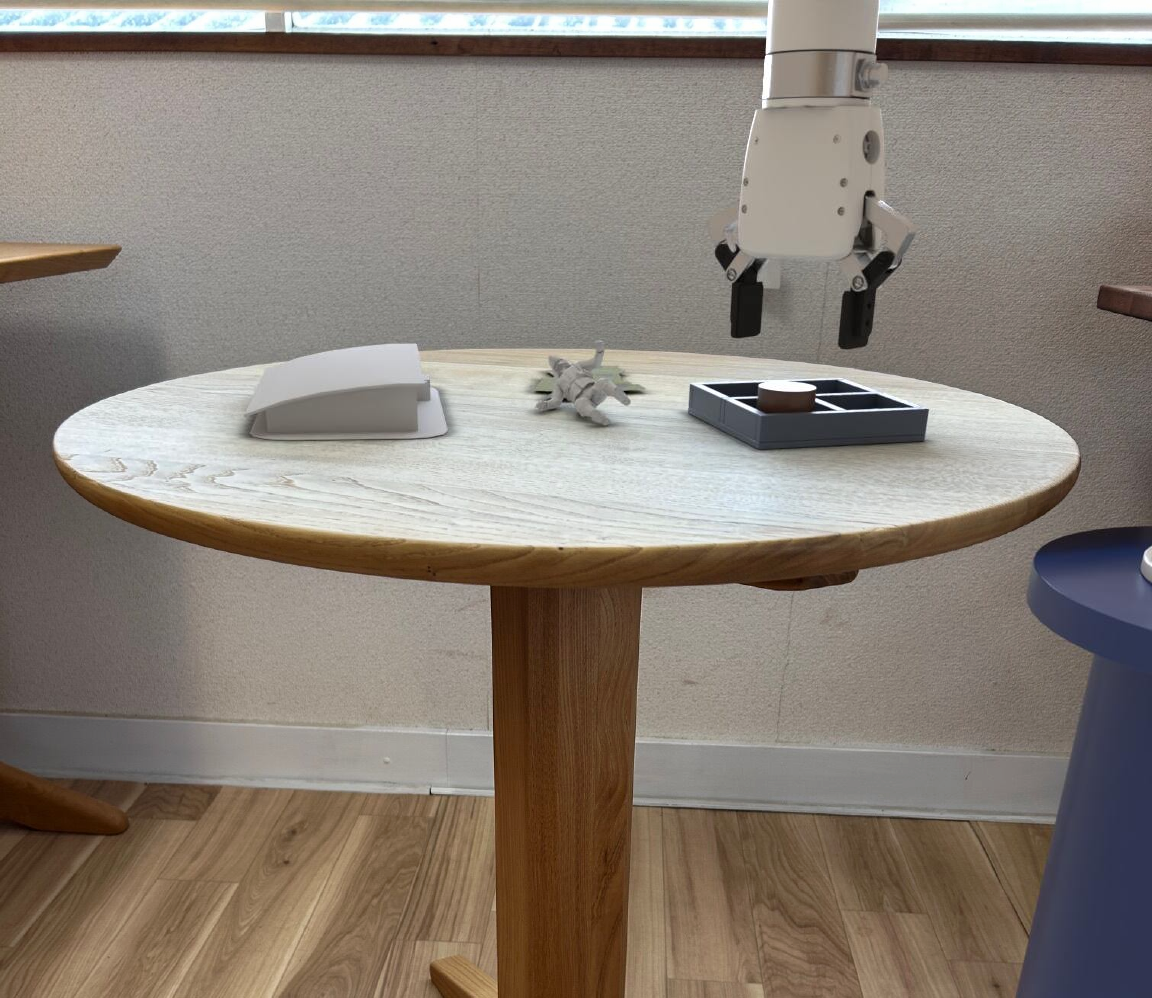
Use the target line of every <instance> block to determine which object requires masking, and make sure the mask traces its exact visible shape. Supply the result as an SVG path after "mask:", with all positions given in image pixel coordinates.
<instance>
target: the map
mask: <svg viewBox="0 0 1152 998" xmlns="http://www.w3.org/2000/svg"><path fill="white" fill-rule="evenodd" d="M545 371H546V372H547V373H549V374H550V375H551V376H553V370H552V369H546V370H545ZM624 372H625V369H620V366H619V365H601V366H600V367H599V368H597V369H595V370H593V371H592V372H590V373H591V374H593V378H592V379H593V380H594V381H595V382H597V381H598V380H599V379H601V378H608V379H610V380H611V381H612V383H614V384H615V385H616V386H617V387H619V388H620V389H622V390H623V392H624V391H625V392H626V391H638V390H640V391H641V390H647V388H646V387H644V386H642V385H641V384H639V383H632V382H630V381H627V380H624V379H622V376H621V373H624ZM539 378H540V381H539V382H538V383H537V386H536V387H535V388H534V389H533V390H534V391H535V392H551V393H549V394H548V395H546V396H545V397H544V399H551V398H552V395H553V388H554V384H555V382H556V380H555V378H554V376H553V377H539ZM564 399H567V398H566V397H564Z"/></svg>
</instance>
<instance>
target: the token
mask: <svg viewBox="0 0 1152 998" xmlns="http://www.w3.org/2000/svg"><path fill="white" fill-rule="evenodd" d="M815 398H816V387H815V386H813V385H810V384H805V383H798V382H784V381H776V382H765V383H761V384H759V385H758V395H757V407H756V409H757V410H759V411H761V412H763V413H766V414H772V413H796V412H814V408H815Z"/></svg>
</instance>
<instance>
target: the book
mask: <svg viewBox="0 0 1152 998" xmlns="http://www.w3.org/2000/svg"><path fill="white" fill-rule="evenodd" d="M254 414H255V415H256V416H255V418H254V419H255V420H254V422H253V424H252V426H251V429H250V431H249V434H250V435H251V436H252V437H254V438H259V439H263V440H269V441H270V440H271V441H272V440H273V441H274V440H275V441H327V440H328V441H330V440H331V441H332V440H333V441H335V440H341V441H342V440H410V439H411V440H413V439H426V438H427V439H429V438H433V437H438V436H439V437H440V436H443V435H445V434H446V433H447V432H448V431H449V430H448V426H447V422H446V418H445V414H444V410H443V406H442V403H441V399H440V394H439V390H438V389H436V388H434V387H433V386H431V379H430V375H429V373H424V372H423V367H422V362H421V358H420V353H419V349H418V344H417V343H386V344H384V343H383V344H374V345H362V346H355V347H348V348H340V349H333V350H327V351H321V352H317V353H313V354H309V355H308V354H307V355H304V356H300V357H296V358H292V359H291V360H288V361H284V362H282V363H279V364H276V365H273V366H271V367H268V368H266V369H264V371H263V373H262V376H261V377H260V379H259V382H258V384H257V387H256V389H255V390H254V393H253V395H252V396H251V399H250V401H249V403H248V406H247V408H246V410H245V412H244V415H243V416H244V418H246V417H249V416H252V415H254Z"/></svg>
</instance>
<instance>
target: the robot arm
mask: <svg viewBox="0 0 1152 998" xmlns="http://www.w3.org/2000/svg"><path fill="white" fill-rule="evenodd" d="M880 5H881V0H768V9H767V10H768V11H767V28H766V45H765V58H764V72H763V74H764V75H763V89H762V90H763V91H762V104H761V105H762V108H757V109H755V112H754V116H753V120H752V123H751V127H750V132H749V137H748V142H747V146H746V152H745V156H744V157H745V158H744V164H743V171H742V179H741V188H740V194H739V199H738V200H737V201H735V202H733V203H732V204H730V205H728V206H727V207H726V208H724V209H723V210H721V211H720V212H718V213H717V214H715V215H713V216H712V217H711V218H709V219H708V221H707V223H706V224H707V225H706V226H707V230H708V233H709V236H710V240H711V243H712V245H713V247H714V248H715V249H714V255H715V256H714V257H715V258H716V260H717V262H718V263H719V265H720V266H721V268H722V269H723V271H724V277H725V280H726V281H727V282H728V283H730V284H731V294H730V295H731V296H730V313H729V322H730V337H731V338H732V339H746V338H751V337H757V336H759V335H760V334H761V332H762V318H763V303H764V302H763V301H764V300H763V299H764V281H760V280H758V278H759V276H760V275H761V273H762V272H763V270H764V269H766V266H767V265H768V264H769V262H770V261H771V260H772V259H773V260H774V259H775V260H791V261H811V262H814V261H815V262H836V263H837V265H838V267H839V268H840V270H841V272H842V273H843V275H844V277H845V279H846V280H847V282H848V284H849V286H850V289H849V290H844V291H843V294H842V296H841V307H840V317H839V326H838V337H837V338H838V339H837V346H838V347H839V348H840V350H846V351H847V350H854V349H859V348H865V347H867V346H868V344H869V338H870V336H871V335H872V332H873V327H874V326H873V325H874V317H875V309H876V308H875V306H876V297H877V290H880V289H882V288H883V287H884V286H885V282H886V281H887V280H888V278H889V277H891V275H892V274H893V273H894V272H896V270H897V269H898V268H900V266H901V264H902V262H903V257H904V255H906V253H907V251H908V249H909V248H910V246H911V244H912V242H913V240H914V239H915V237H916V235H917V233H918V232H917V231H918V229H917V225H916V224H915V223H914V222H913V221H911V220H909V219H908V218H907V217H905V216H904V215H902V214H901V213H900V212H898V211H896V210H895V209H894V208H892V207H891V206H889V205H888V204H887V203H885V190H886V189H885V187H886V152H885V137H884V123H883V115H882V108H881V107H879V106H871V99H872V98H874V97H873V96H874V89H875V88H876V87H882V86H883V87H884V86H886V84H887V82H888V79H889V66H888V65H887V63H885V62H881V63H878V62H877V54H876V48H877V37H878V25H879V18H880V17H879V15H880ZM736 227H737V238H738V239H737V240H738V244H737V243H735V240H734V239H735V236H734V229H735V228H736ZM883 232H884V234H885V236H886V240H885V242H884V244H883V248H882V250H881V251H880V252H878V251H879V250H880V247H881V244H882V243H881V242H882V236H883ZM875 254H877V255H876V256H874V255H875ZM1141 573H1142V574H1143V575H1144V577H1145V578H1146V579H1147V580H1148V581H1149V582H1150V583H1152V546H1151V547H1149V548H1148V549H1147V550H1146V551H1145V552H1144V556H1143V560H1142V563H1141Z"/></svg>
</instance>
